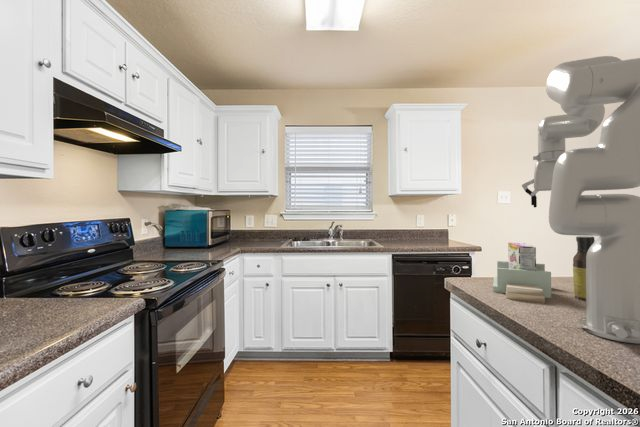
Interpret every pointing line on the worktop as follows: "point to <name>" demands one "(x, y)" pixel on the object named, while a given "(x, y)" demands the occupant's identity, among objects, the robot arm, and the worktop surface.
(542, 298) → the birch offcut
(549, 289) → the rack
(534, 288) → the ash offcut
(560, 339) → the worktop surface
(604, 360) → the worktop surface
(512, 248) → the candy bar box
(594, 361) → the worktop surface
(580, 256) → the sauce bottle
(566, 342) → the worktop surface
